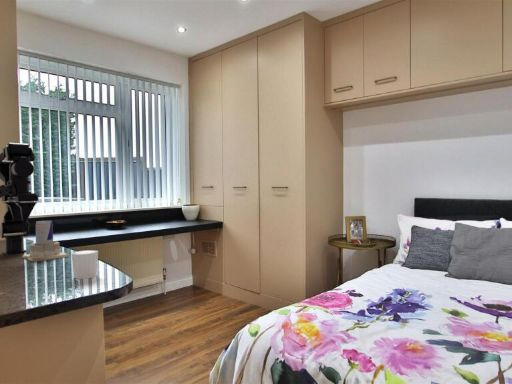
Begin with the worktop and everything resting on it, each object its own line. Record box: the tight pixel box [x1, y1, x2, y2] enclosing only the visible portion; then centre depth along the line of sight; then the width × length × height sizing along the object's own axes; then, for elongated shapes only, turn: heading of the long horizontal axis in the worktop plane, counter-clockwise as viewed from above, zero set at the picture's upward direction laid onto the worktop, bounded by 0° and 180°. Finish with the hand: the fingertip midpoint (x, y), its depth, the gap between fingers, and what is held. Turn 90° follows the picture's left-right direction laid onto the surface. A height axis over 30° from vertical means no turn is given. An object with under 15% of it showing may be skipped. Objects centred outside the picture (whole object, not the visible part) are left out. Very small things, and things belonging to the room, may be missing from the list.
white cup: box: [71, 249, 99, 280], centre depth 101 cm, size 7×7×7 cm
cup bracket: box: [22, 241, 69, 263], centre depth 128 cm, size 11×11×5 cm
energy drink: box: [35, 220, 54, 245], centre depth 128 cm, size 5×5×12 cm
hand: (20, 221), depth 128 cm, fingers open, 9 cm apart
